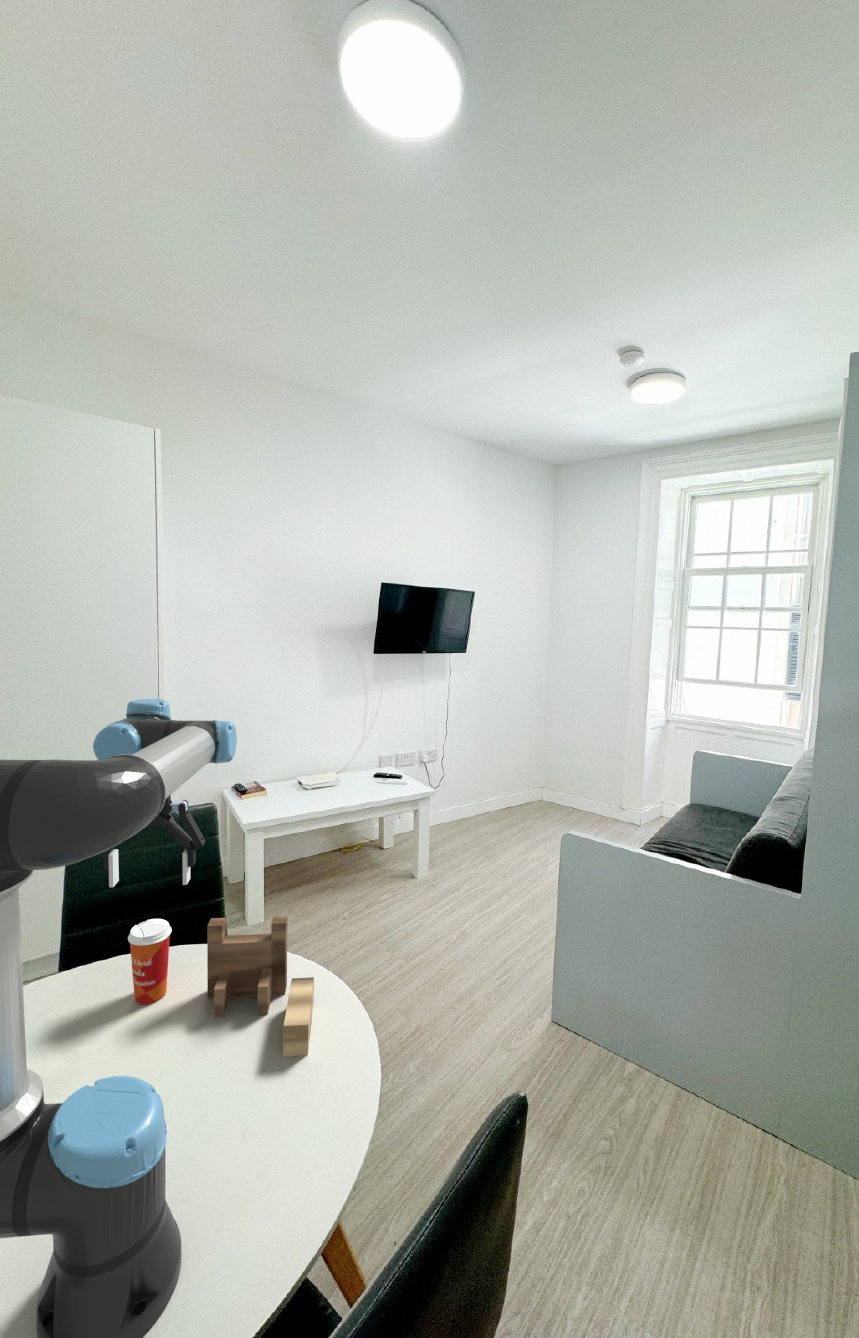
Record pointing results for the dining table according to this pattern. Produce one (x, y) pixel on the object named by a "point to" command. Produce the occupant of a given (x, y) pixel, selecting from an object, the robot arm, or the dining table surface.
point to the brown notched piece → (246, 964)
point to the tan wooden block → (298, 1017)
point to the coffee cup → (150, 959)
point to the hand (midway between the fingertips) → (150, 883)
